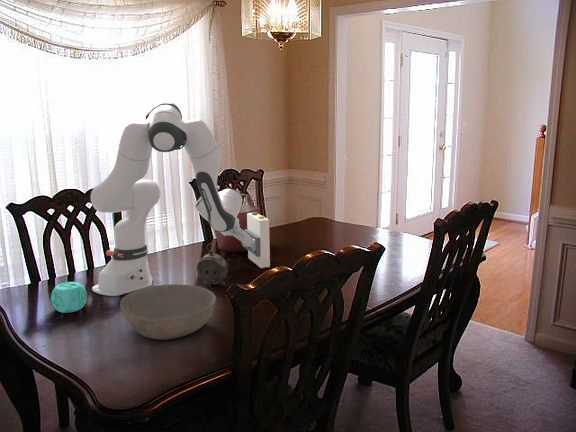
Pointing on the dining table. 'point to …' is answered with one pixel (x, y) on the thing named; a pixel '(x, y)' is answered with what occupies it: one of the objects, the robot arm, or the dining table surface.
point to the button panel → (259, 239)
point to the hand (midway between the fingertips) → (251, 245)
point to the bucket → (230, 241)
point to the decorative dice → (69, 297)
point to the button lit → (254, 245)
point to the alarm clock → (212, 268)
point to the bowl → (168, 310)
